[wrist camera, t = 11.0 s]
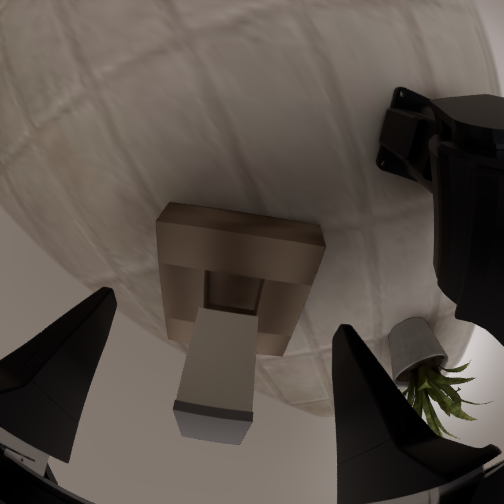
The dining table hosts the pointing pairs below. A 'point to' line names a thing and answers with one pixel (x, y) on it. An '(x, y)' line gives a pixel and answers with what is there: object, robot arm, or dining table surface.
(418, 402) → the house plant
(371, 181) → the dining table surface
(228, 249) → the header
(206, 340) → the plug
